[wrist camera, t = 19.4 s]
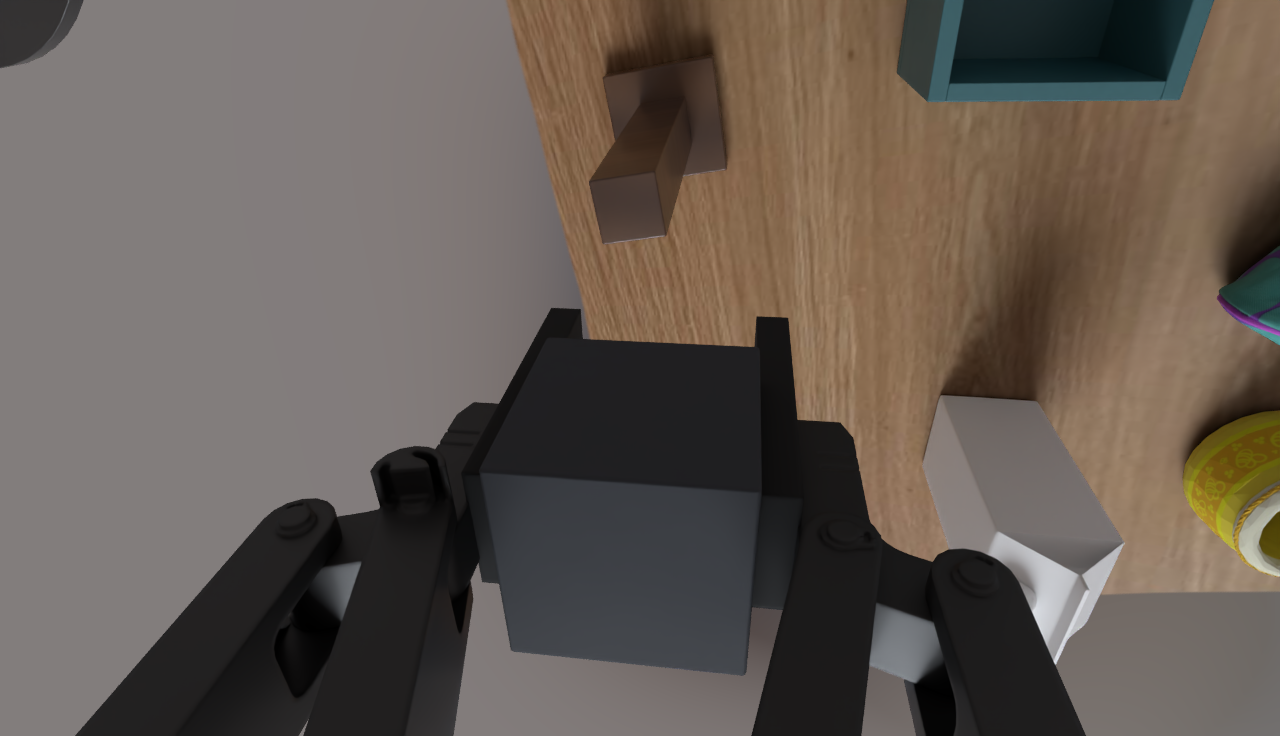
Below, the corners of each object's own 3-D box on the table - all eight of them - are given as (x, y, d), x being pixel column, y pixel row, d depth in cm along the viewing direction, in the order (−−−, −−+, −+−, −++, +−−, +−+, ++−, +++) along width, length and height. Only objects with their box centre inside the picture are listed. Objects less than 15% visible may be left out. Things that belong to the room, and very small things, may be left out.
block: (563, 496, 17) (509, 652, 13) (546, 336, 15) (477, 469, 11) (747, 511, 16) (745, 677, 13) (760, 346, 14) (762, 490, 10)
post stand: (605, 73, 46) (533, 142, 31) (713, 53, 44) (694, 115, 29) (626, 180, 49) (571, 289, 34) (727, 164, 48) (717, 271, 32)
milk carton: (1037, 399, 54) (1159, 596, 38) (1012, 472, 57) (1114, 680, 41) (939, 392, 55) (1018, 583, 38) (921, 465, 58) (986, 666, 42)
